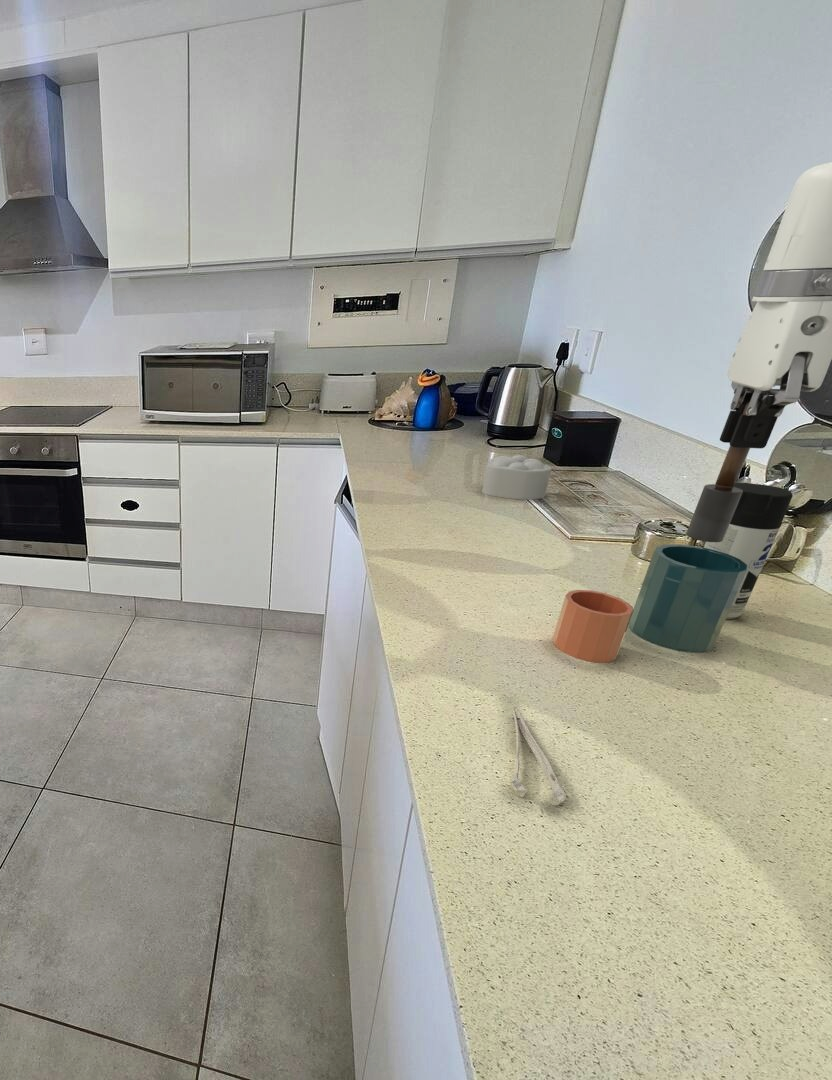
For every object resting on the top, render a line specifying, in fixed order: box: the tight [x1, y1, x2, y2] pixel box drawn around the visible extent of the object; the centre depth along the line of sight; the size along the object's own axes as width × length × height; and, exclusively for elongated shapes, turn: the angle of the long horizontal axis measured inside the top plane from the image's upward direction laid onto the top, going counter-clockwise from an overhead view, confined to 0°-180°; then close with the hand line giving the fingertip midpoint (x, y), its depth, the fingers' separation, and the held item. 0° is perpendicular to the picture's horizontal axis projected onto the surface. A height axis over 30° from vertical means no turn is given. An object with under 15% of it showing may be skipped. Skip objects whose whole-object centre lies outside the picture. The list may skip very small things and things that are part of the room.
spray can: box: [703, 482, 794, 620], centre depth 87 cm, size 7×7×20 cm
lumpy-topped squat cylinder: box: [481, 454, 553, 501], centre depth 142 cm, size 10×13×9 cm
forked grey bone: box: [510, 706, 567, 806], centre depth 66 cm, size 18×5×2 cm, turn 155°
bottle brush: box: [685, 402, 751, 543], centre depth 74 cm, size 4×4×18 cm
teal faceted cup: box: [628, 543, 747, 654], centre depth 82 cm, size 9×9×13 cm
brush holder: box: [551, 589, 634, 664], centre depth 81 cm, size 7×7×8 cm
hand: (741, 443), depth 73 cm, fingers closed on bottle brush
